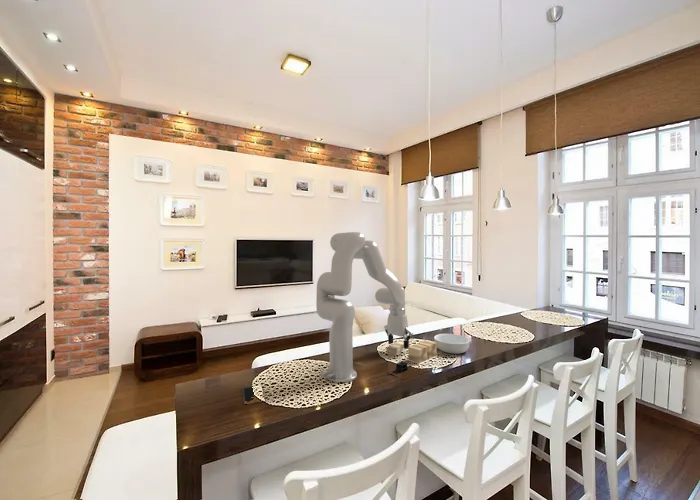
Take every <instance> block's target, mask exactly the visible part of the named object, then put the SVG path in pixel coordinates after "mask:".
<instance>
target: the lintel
mask: <svg viewBox="0 0 700 500" xmlns="http://www.w3.org/2000/svg"><path fill="white" fill-rule="evenodd" d="M407 349H408V348H406V349H404V340H402V339H401V340H398V341H395V342H393V343H392V344H389V346H387V347H386V355H389V356H393V357H395V356H397V355H399V354H401V353H402V352H404V351H406V350H407Z"/></svg>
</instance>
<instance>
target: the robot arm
mask: <svg viewBox="0 0 700 500" xmlns="http://www.w3.org/2000/svg"><path fill="white" fill-rule="evenodd" d="M329 244H330V248H331V250H333V251H334V252H333V256H332V259H331V264H330V265H331V266H330V267H331V268H330V271H325V272H323V273H322V274H321V275H319V277H318V279H317V282H316V303H315V304H316V306H315V307H316V313H317V315H318V317H319V318H320V319H323V320H325V321H326V320H327V321H328V322H332V324H331V327H330V329H329V332H328V333H329V334H328V335H329V337H328V339H329V340H328V342H329V343H328V345H329V366H327V369H326V370H325V371H322V372H319V373H320V374H319V375H320V377H321V378H325V377H326V379H327V380H328V381H330V380H331V381H330V382H332V381H333V382H332V383H337V382H345V383H349V381H350V382H351V381H354V380H355V379H356V378H357V376H358V375H357V374H358V373H357V371H356V370H355V369H354V363H353V362H354V360H353V359H354V356H353V355H354V354H353V353H354V352H353V351H354V350H353V349H354V348H353V347H354V345H353V338H354V337H353V327H354V318H355V314H356V313H355V312H356V310H355V307H354V305H353V303H351V301H348V300H346V299H341V298H336V297H335V296H337V297H346V296H348V295H349V294H350V293H351V291H352V276H353V275H352V274H353V262H354V259H356V260H362V261H363V264H364V267H365V269H366V270H367V273H368V276H369V277H370V278H372V279H374V280H375V281H377V282H379V283H381V284H383V285H384V286H385V287H381V288H379V289H377V290H376V292H375V296H374V298H375V300H376V302H378V303H380V304H381V305H382V304H383V305H388V306H389V308H388V311H389V313H388V316H387V324H386V325H384V326H383V327H384V328H383V329H384V331H385V334H386V335H387V338H388V345H392V344H394V336H397V337H402V338H403V339H404V340H403V341H404V349H406V348H407V349H408V347H409V346H410V340H411V338H412V337H413V334H414V332H413V331H412V330H411V329H410V328H409V324H408V323H409V322H408V317H407V314H406V293H405V291H406V290H405V287H403V286H402V284H401V282H400V280H399V279H398V278H397V277H396V275H395V274H393V273H392V272H391V271H390V270H389V269H388V268H387V267H386V265H385V261H384V260H383V256H382V255H381V252H380V250H379V246H378V245H377V243H376V242H375V241H373V240H366V237H365V235H364V234H363V233H361V232H358V231H350V232H338V233H334V234H333V235H332V236H331V237H330V241H329ZM407 349H406V350H407Z"/></svg>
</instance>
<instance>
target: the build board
mask: <svg viewBox="0 0 700 500" xmlns="http://www.w3.org/2000/svg"><path fill="white" fill-rule="evenodd" d="M438 356H439V355H438V354H437V356H435V357H432V358H430V359H429V358H427V360H426V361H424V362H422V363H417V362H414V361H411V360H409V358H408V359H407V361H409V362H412V363H415V364H418V365H421V364H423V363H425V362H429V360H432V359H435V358H437V357H438Z"/></svg>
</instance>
